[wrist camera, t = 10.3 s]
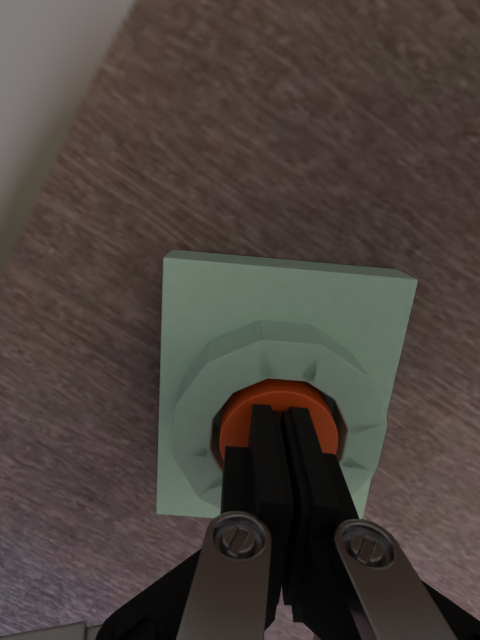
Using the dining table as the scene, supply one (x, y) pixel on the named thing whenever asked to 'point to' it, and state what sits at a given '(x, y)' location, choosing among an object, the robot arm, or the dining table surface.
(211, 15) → the dining table surface
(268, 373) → the block
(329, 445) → the button
